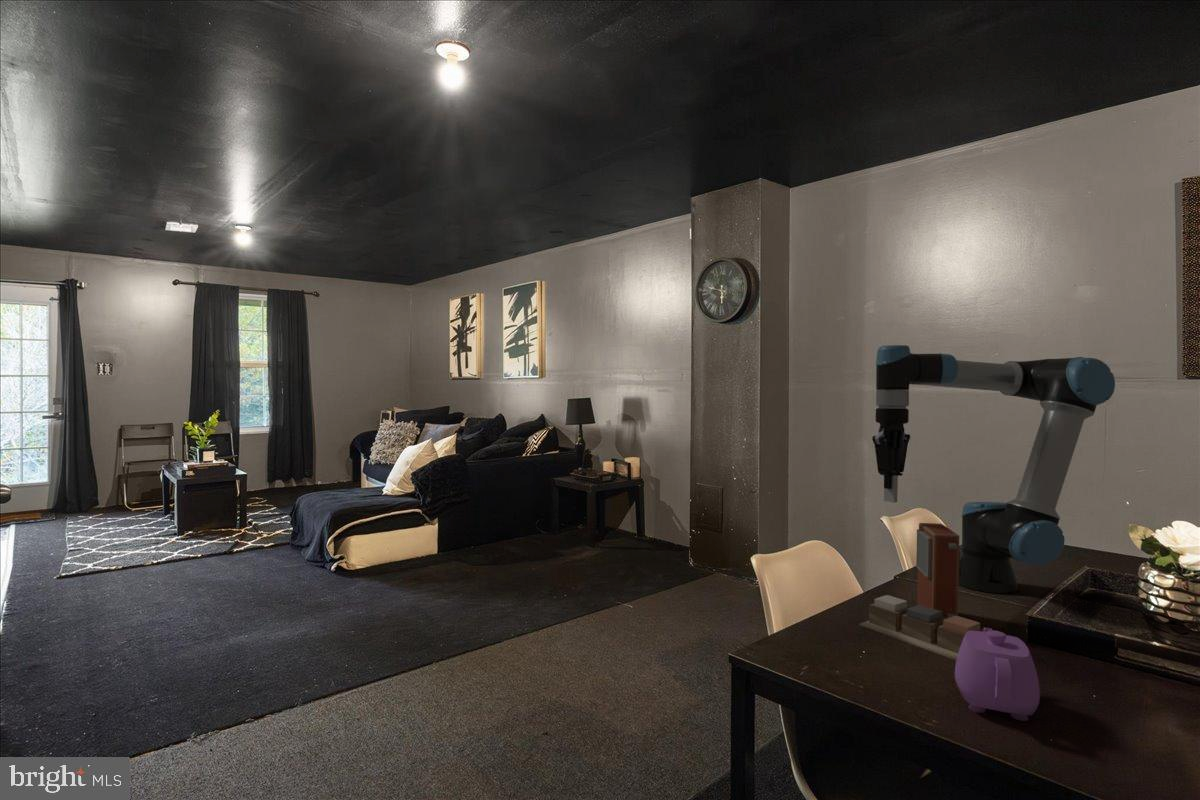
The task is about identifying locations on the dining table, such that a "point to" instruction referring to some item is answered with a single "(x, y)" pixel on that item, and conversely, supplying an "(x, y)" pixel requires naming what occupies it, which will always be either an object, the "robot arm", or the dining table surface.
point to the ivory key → (890, 603)
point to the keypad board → (915, 631)
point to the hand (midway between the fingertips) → (890, 501)
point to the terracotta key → (960, 625)
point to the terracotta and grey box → (938, 568)
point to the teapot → (997, 674)
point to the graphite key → (924, 614)
